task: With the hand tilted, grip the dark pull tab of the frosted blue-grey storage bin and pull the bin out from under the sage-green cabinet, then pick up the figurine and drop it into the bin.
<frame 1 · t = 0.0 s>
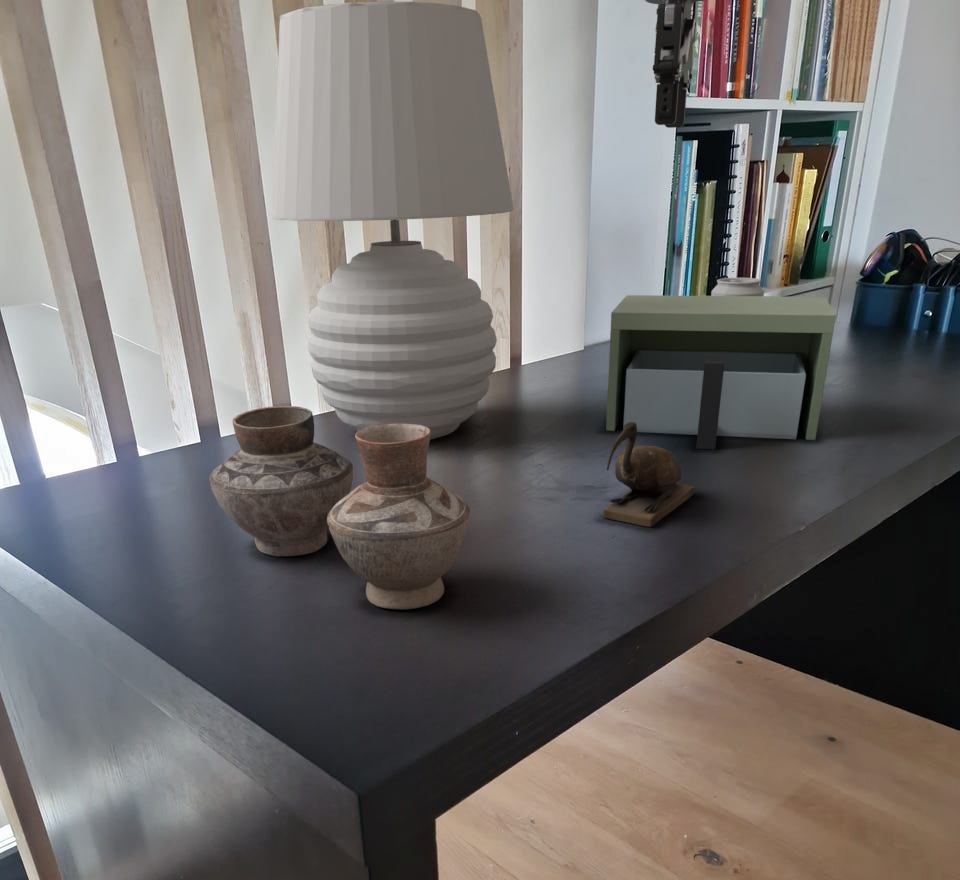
hand: (669, 126, 96), 31 cm above the table, tool pointing down, fingers open, 8 cm apart
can: (729, 364, 131), on the table
figurine: (640, 515, 76), on the table
cabinet: (709, 419, 103), on the table
table lamp: (408, 432, 102), on the table
pottery: (343, 568, 67), on the table
bin: (709, 421, 102), on the table
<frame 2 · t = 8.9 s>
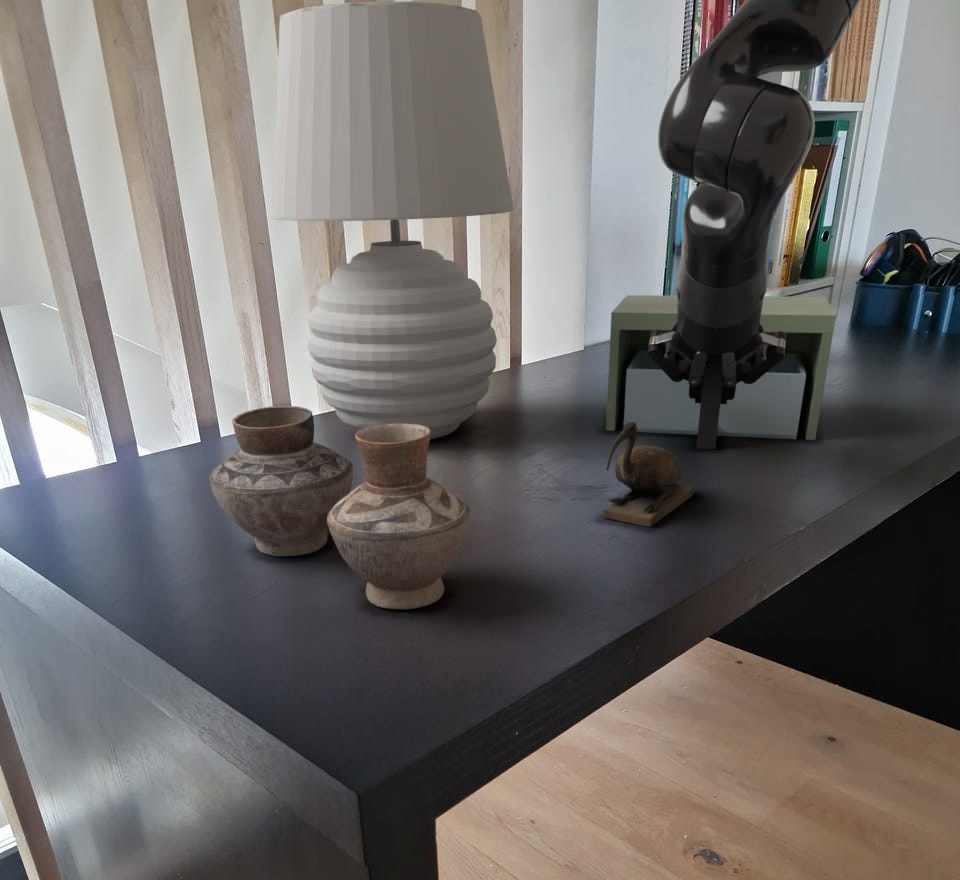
hand: (711, 396, 92), 5 cm above the table, tool tilted 45°, fingers closed on bin
bin: (709, 421, 102), on the table, touching gripper
everything else where it was.
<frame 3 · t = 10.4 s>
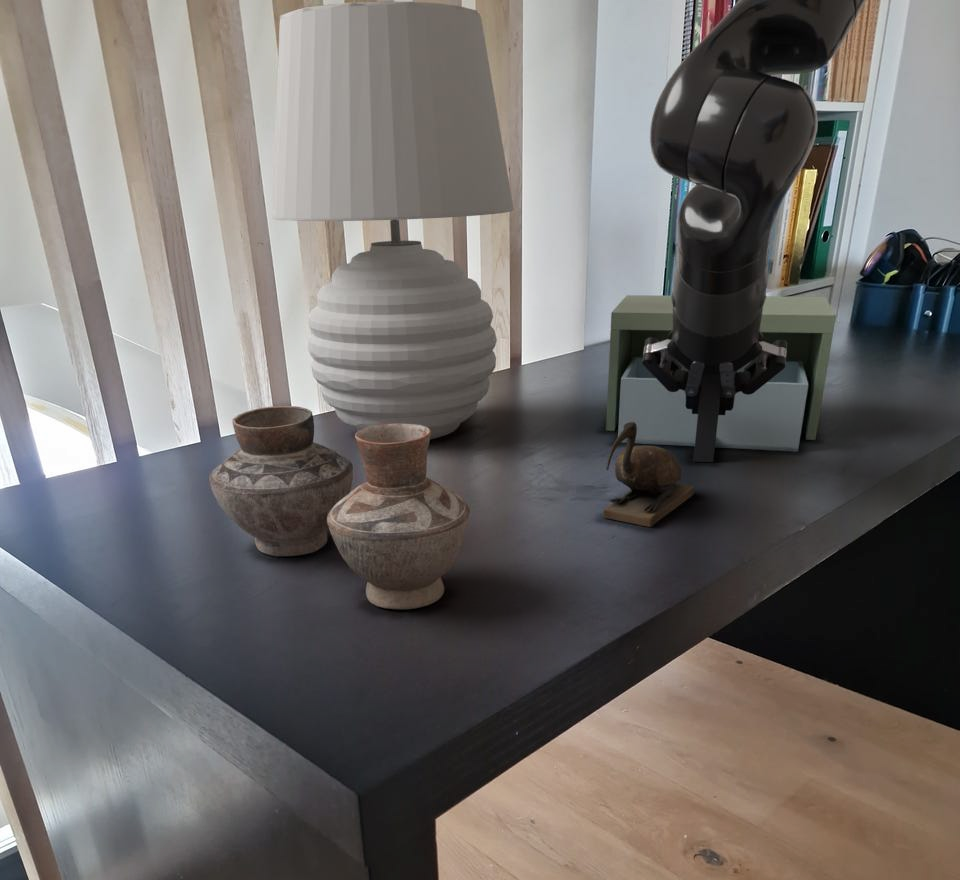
hand: (709, 406, 88), 5 cm above the table, tool tilted 45°, fingers closed on bin
bin: (707, 432, 98), on the table, touching gripper
everything else where it was.
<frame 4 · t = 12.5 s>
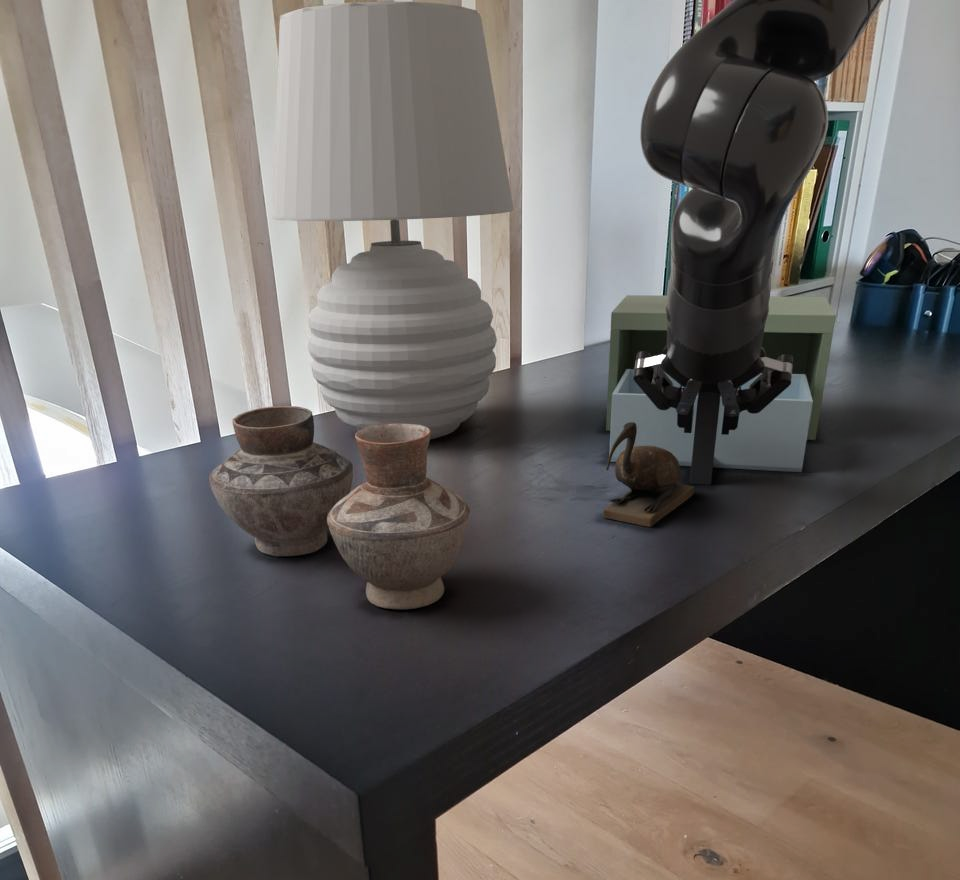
hand: (706, 425, 82), 5 cm above the table, tool tilted 45°, fingers open, 3 cm apart
bin: (705, 450, 92), on the table
everything else where it was.
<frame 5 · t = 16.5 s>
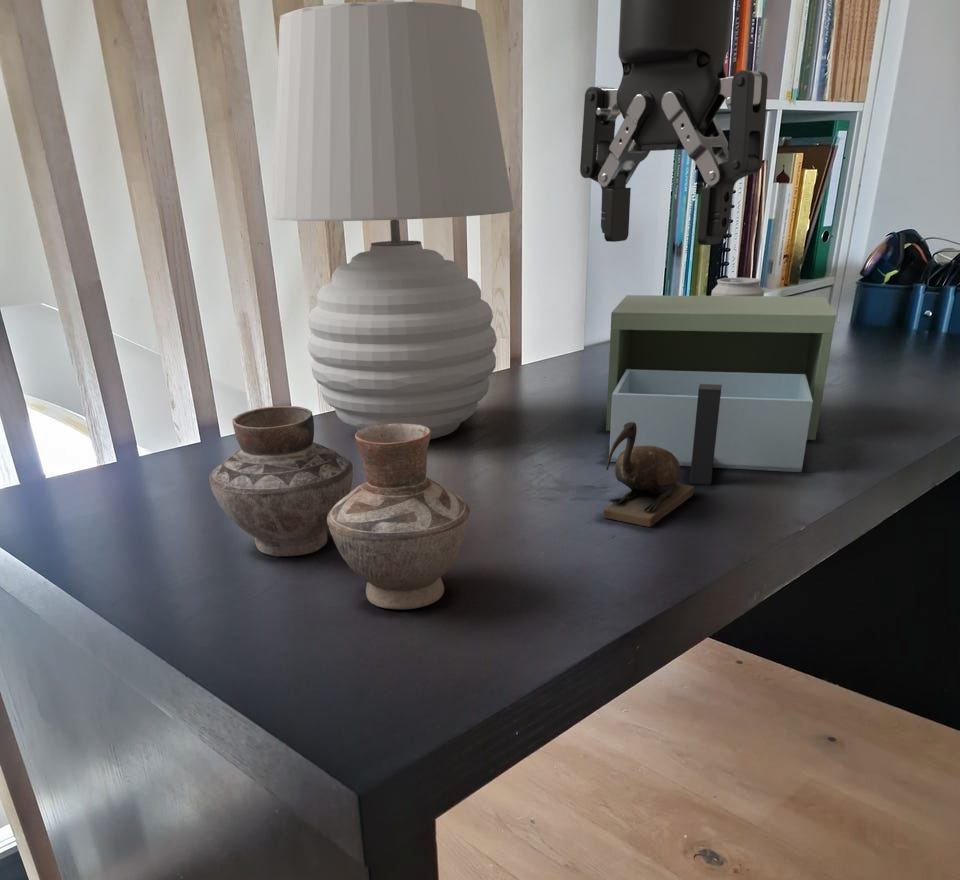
hand: (660, 242, 65), 22 cm above the table, tool pointing down, fingers open, 8 cm apart
nothing on the table moved.
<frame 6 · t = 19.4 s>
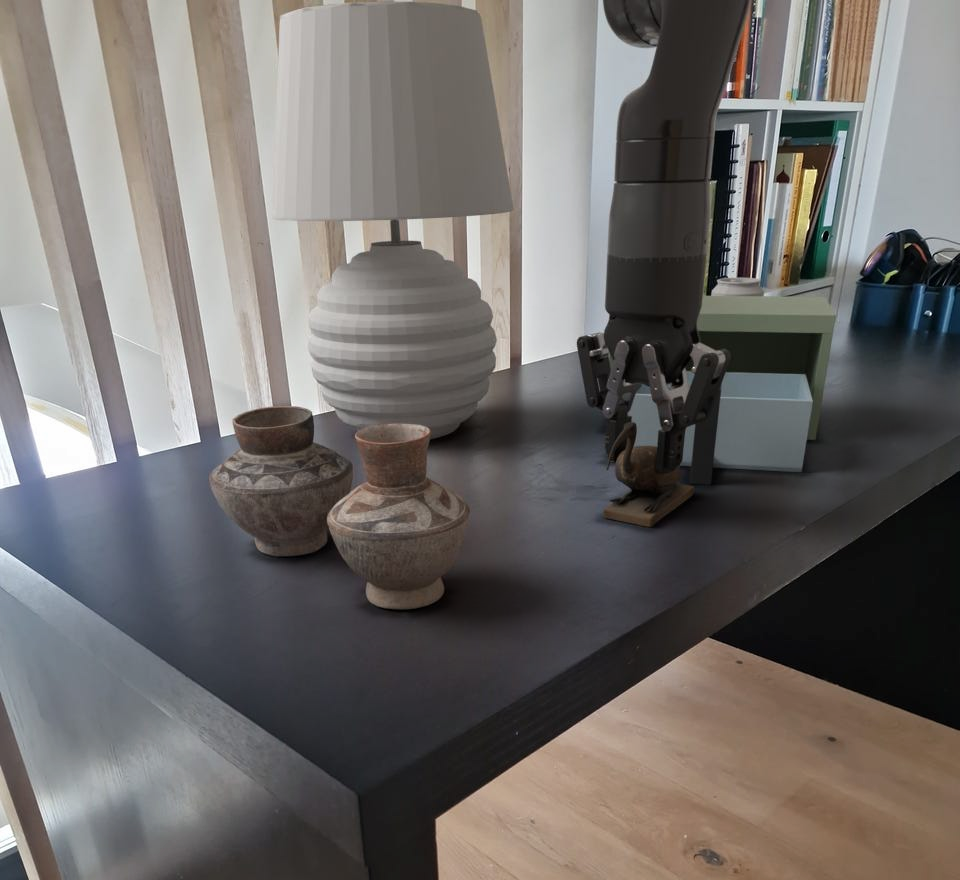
hand: (641, 464, 74), 4 cm above the table, tool pointing down, fingers closed on figurine, 4 cm apart
figurine: (639, 515, 76), on the table, touching gripper
everything else where it was.
when the fingers open (7 cm above the table, at t = 35.9 s): figurine drops 2 cm, resting on bin.
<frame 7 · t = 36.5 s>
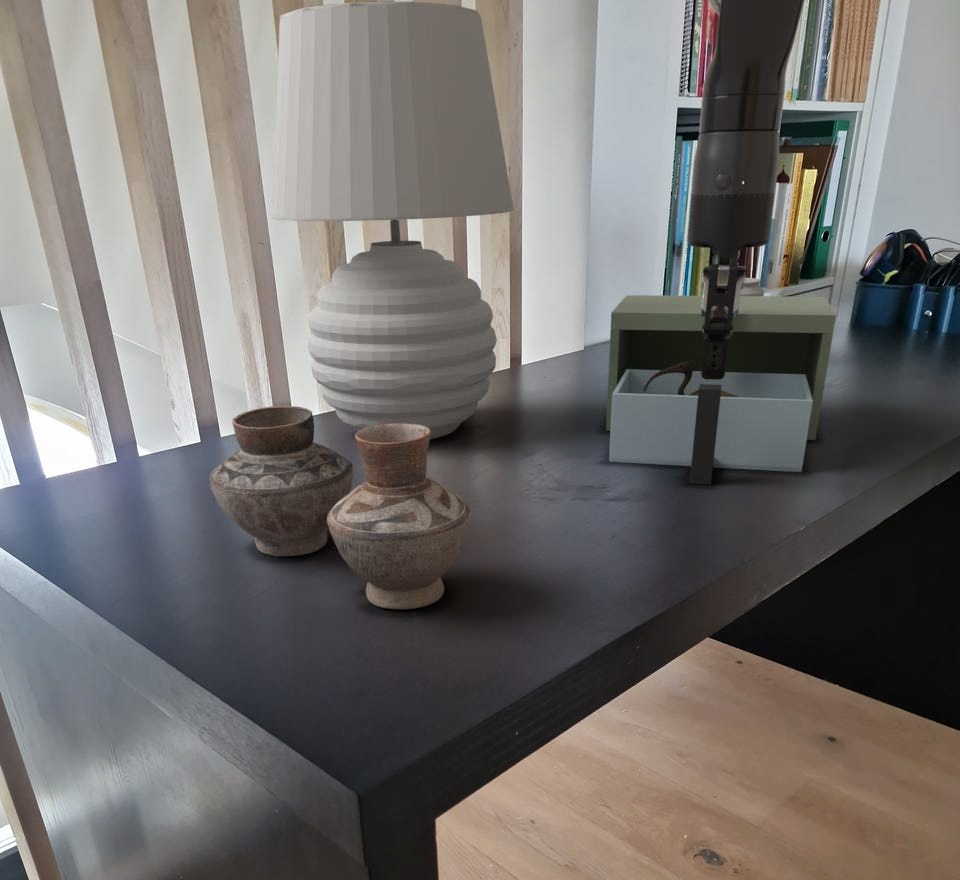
hand: (713, 370, 87), 9 cm above the table, tool pointing down, fingers open, 8 cm apart
figurine: (706, 448, 91), resting on bin
bin: (705, 450, 92), on the table, touching figurine
everything else where it was.
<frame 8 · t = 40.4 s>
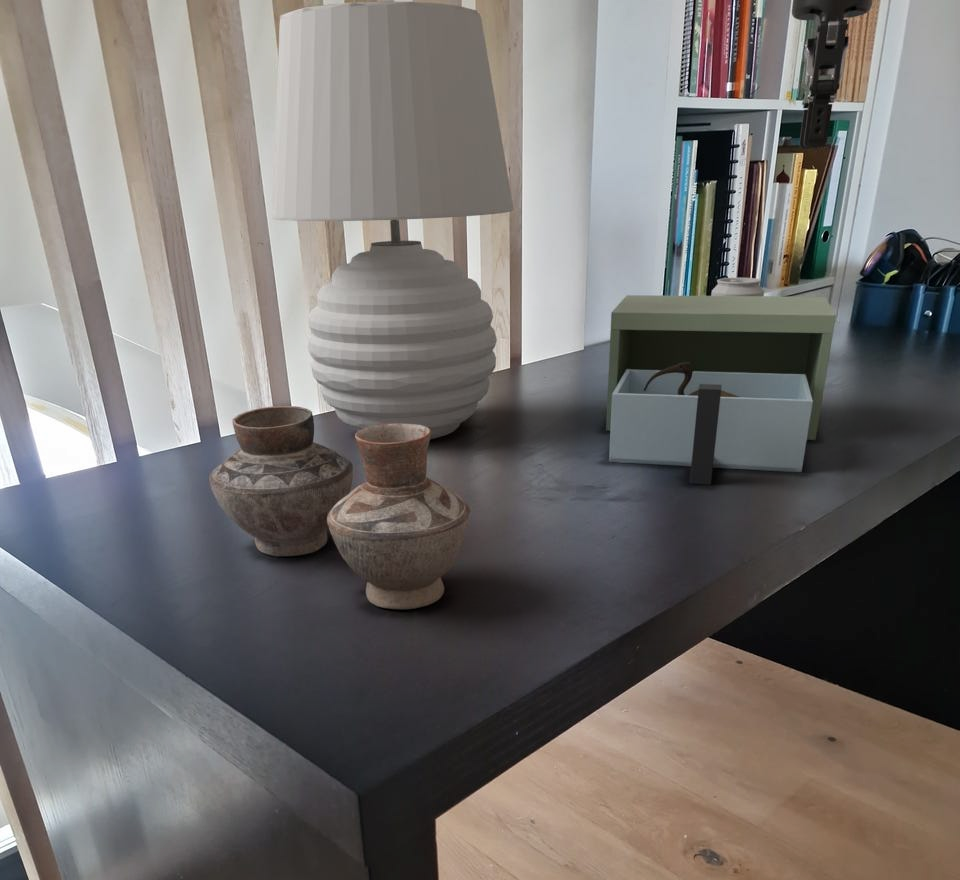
hand: (811, 147, 91), 28 cm above the table, tool pointing down, fingers open, 8 cm apart
nothing on the table moved.
at the end: bin inside the target area on the table beside the cabinet (0.6 cm from its centre), on the table; figurine inside the target area on the bin (0.3 cm from its centre), point 0.3 cm above the bin's base; the gripper is holding nothing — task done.
